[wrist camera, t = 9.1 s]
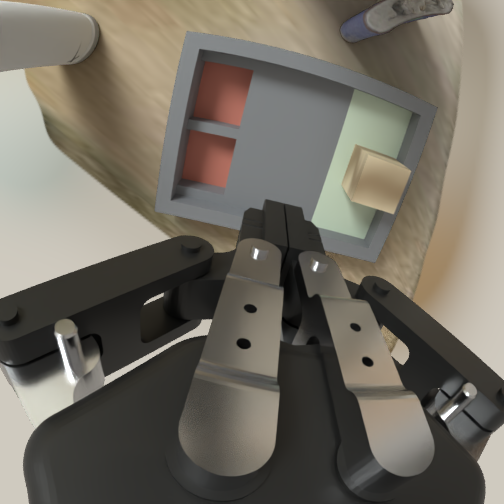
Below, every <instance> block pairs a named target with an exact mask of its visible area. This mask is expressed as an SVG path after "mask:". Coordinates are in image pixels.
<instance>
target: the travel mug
mask: <svg viewBox="0 0 504 504" xmlns="http://www.w3.org/2000/svg"><path fill="white" fill-rule="evenodd" d="M98 38H99V27H98V24H97V22H96V20H95V19H94V18H93V17H92V16H90V15H88V14H84V13H79V12H75V11H70V10H64V9H59V8H53V7H47V6H40V5H33V4H26V3H17V2H7V1H0V72H3V71H9V70H16V69H24V68H33V67H42V66H54V65H68V64H77V63H79V62H82V61H83V60H85V59H86V58H87V57H88V56H89V55H90V54H91V53H92V52H93V50H94V49H95V47H96V45H97V42H98Z"/></svg>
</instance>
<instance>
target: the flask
mask: <svg viewBox="0 0 504 504" xmlns="http://www.w3.org/2000/svg"><path fill="white" fill-rule="evenodd" d="M453 5H454V4H453V2H452V0H382V1H380V2H378V3H376V4H374V5H373V6H372V7H370V8H368V9H366V10H365V11H362V12H361V13H359V14H357V15H355V16H354V17H352V18H350V19H349V20H347V21H345V22H344V23H343V24H342V26H341V28H340V33H341V35H342V37H343V38H344V39H345V40H346V41H348V42H352V43H353V42H358V41H360V40H362V39H366V38H369V37H372V36H376V35H380V34H385V33H388V32H390V31H391V30H393V29H394V28H395V27H397V26H398V25H401V24H405V23H408V22H412V21H416V20H420V19H426V18H428V17H433V16H437V15H445V14H449V13H450V12H451V11H452V9H453Z"/></svg>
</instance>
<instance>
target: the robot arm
mask: <svg viewBox="0 0 504 504" xmlns="http://www.w3.org/2000/svg"><path fill="white" fill-rule="evenodd" d="M161 293H164V296H163V297H161V298H159V299H157V300H155V301H152V302H150V303H148V304H146V305H144V303H145V302H146V301H147V300H149V299H150V298H152V297H154V296H157V295H159V294H161ZM202 319H213V320H212V323H211V326H210V329H209V333H208V335H205V336H198V337H193V338H189V339H186V340H183V341H181V342H179V343H176V344H175V345H173V346H171V347H169V348H168V349H166V350H164V351H163V352H161V353H160V354H158V355H156V356H154V357H153V358H151V359H149V360H148V361H146V362H145V363H143V364H141V365H139V366H138V367H136V368H134V369H133V370H131V371H129V372H127V373H126V374H124V375H122V376H121V377H119V378H117V379H115V380H114V381H112V382H110V383H109V384H107V385H105V386H104V381H105V379H104V378H105V377H106V376H108V375H110V374H111V373H114V372H115V371H117V370H119V369H121V368H123V367H125V366H127V365H129V364H131V363H132V362H134V361H136V360H138V359H140V358H142V357H144V356H146V355H147V354H149V353H151V352H153V351H155V350H157V349H158V348H160V347H162V346H164V345H166V344H168V343H170V342H171V341H173V340H175V339H177V338H179V337H180V336H182V335H184V334H186V333H188V332H189V331H191V330H193V329H195V328H196V327H197V326H199V324H200V323H201V320H202ZM383 325H384V326H385V327H386V328H387V329H389V330H390V331H391V332H392V333H393V334H394V335H395V336H396V337H398V338H399V339H400V340H401V341H402V342H403V343H405V345H406V346H407V347H408V349H409V352H410V353H409V358H408V360H407V361H406V362H405V364H404V365H401V364H400V363H399V362H398V361H396V360H395V359H394V358H393V357H392V356H391V354H390V352H389V349H388V347H387V344H386V342H385V340H384V337H383V335H382V332H381V329H382V327H383ZM0 368H1V370H2V372H3V374H4V375H5V377H6V379H7V381H8V382H9V384H10V385H11V386H12V387H13V389H14V391H15V392H16V394H17V396H18V398H19V399H20V401H21V403H22V405H23V407H24V409H25V411H26V413H27V415H28V417H29V419H30V421H31V423H32V425H33V427H34V428H35V431H34V432H33V433H32V435H31V437H30V439H29V440H28V443H27V445H26V449H25V453H24V459H23V471H24V477H25V482H26V487H27V491H28V499H29V504H484V499H485V480H484V476H483V473H482V470H481V468H480V466H479V464H478V463H477V461H478V459H479V458H480V456H481V454H482V452H483V450H484V448H485V446H486V444H487V441H488V440H489V438H490V435H491V434H492V433H493V432H495V431H496V430H497V429H498V428H499V427H500V426H502V425H503V424H504V380H503V379H502V378H501V377H499V376H498V375H497V374H496V373H495V372H494V371H493V370H492V369H491V368H490V367H488V366H487V365H486V364H485V363H484V362H483V361H482V360H481V359H480V358H479V357H477V356H476V355H475V354H474V353H473V352H472V351H471V350H470V349H468V348H467V347H466V346H465V345H464V344H463V343H462V342H460V341H459V340H458V339H457V338H456V337H455V336H453V335H452V334H451V333H450V332H449V331H448V330H446V329H445V328H444V327H443V326H442V325H441V324H439V323H438V322H437V321H436V320H435V319H433V318H432V317H431V316H430V315H429V314H427V313H426V312H425V311H424V310H423V309H421V308H420V307H419V306H418V305H416V304H415V303H414V302H413V301H412V300H410V299H409V298H408V297H407V296H406V295H404V294H403V293H402V292H401V291H399V290H398V289H397V288H396V287H394V286H393V285H392V284H391V283H389V282H388V281H386V280H384V279H382V278H379V277H376V276H366V277H364V278H363V280H362V282H361V284H360V285H358V284H356V283H353V282H351V281H348V280H346V279H344V278H343V276H342V274H341V271H340V269H339V266H338V265H337V263H336V262H335V261H334V260H333V259H331V258H330V257H328V256H326V254H325V251H324V247H323V243H322V240H321V237H320V233H319V229H318V228H317V227H316V226H315V225H314V224H313V223H312V222H311V221H307V220H305V219H304V214H303V210H302V207H298V206H294V205H290V204H286V203H284V204H283V203H281V202H277V201H273V200H268V199H265V201H264V204H263V208H262V210H260V209H255V208H251V207H250V208H249V209H247V210H246V211H245V212H244V215H243V219H242V224H241V228H240V232H239V236H238V240H237V245H236V249H235V250H233V251H230V252H225V253H214V249H213V247H212V245H211V244H210V243H209V242H207V241H206V240H204V239H202V238H199V237H195V236H178V237H174V238H171V239H168V240H165V241H162V242H159V243H156V244H153V245H150V246H147V247H144V248H141V249H138V250H135V251H132V252H129V253H126V254H123V255H120V256H117V257H114V258H111V259H108V260H106V261H103V262H100V263H97V264H94V265H91V266H88V267H85V268H83V269H80V270H77V271H74V272H71V273H68V274H66V275H63V276H60V277H57V278H55V279H52V280H49V281H47V282H44V283H41V284H38V285H36V286H33V287H31V288H28V289H25V290H22V291H20V292H17V293H14V294H12V295H9V296H6V297H4V298H1V299H0ZM438 388H440V389H439V390H438Z"/></svg>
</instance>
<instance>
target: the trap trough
mask: <svg viewBox="0 0 504 504" xmlns="http://www.w3.org/2000/svg"><path fill="white" fill-rule="evenodd" d="M437 108H438V107H436V106H434V105H432V104H430V103H428V102H426V101H424V100H421V99H419V98H417V97H415V96H413V95H411V94H409V93H407V92H404V91H402V90H400V89H398V88H395V87H393V86H391V85H388V84H386V83H383V82H381V81H379V80H376V79H374V78H371V77H368V76H366V75H363V74H361V73H358V72H355V71H352V70H350V69H347V68H344V67H341V66H338V65H335V64H332V63H329V62H326V61H323V60H320V59H316V58H313V57H310V56H306V55H303V54H299V53H296V52H292V51H288V50H284V49H280V48H276V47H272V46H268V45H264V44H259V43H255V42H250V41H245V40H240V39H235V38H229V37H224V36H218V35H211V34H205V33H197V32H189V31H187V32H186V36H185V40H184V44H183V49H182V53H181V57H180V61H179V66H178V70H177V75H176V80H175V85H174V90H173V95H172V100H171V105H170V110H169V116H168V121H167V127H166V133H165V139H164V145H163V152H162V158H161V165H160V172H159V180H158V187H157V195H156V204H155V211H156V212H161V213H165V214H170V215H174V216H179V217H183V218H188V219H192V220H196V221H201V222H205V223H210V224H214V225H219V226H223V227H227V228H232V229H236V230H240V228H241V224H242V219H243V215H244V212H245V211H246V210H247V209H249V208H250V207H251V208H255V209H260V210H262V208H263V204H264V201H265V199H268V200H273V201H277V202H281V203H283V204H284V203H286V204H290V205H294V206H298V207H302V210H303V214H304V219H305V220H307V221H311V222H312V223H313V224H314V225H315V226H316V227H317V228H318V229H319V233H320V237H321V240H322V243H323V247H324V250H325V251H329V252H333V253H337V254H341V255H345V256H349V257H353V258H357V259H361V260H365V261H369V262H373V263H375V262H376V260H377V258H378V256H379V254H380V251H381V249H382V247H383V245H384V243H385V241H386V239H387V236H388V234H389V232H390V230H391V228H392V225H393V223H394V221H395V219H396V216H397V214H398V212H399V209H400V207H401V205H402V202H403V200H404V198H405V195H406V193H407V190H408V188H409V185H410V183H411V180H412V178H413V175H414V173H415V170H416V167H417V165H418V162H419V160H420V157H421V154H422V152H423V149H424V146H425V143H426V140H427V138H428V135H429V132H430V129H431V126H432V123H433V120H434V117H435V114H436V111H437ZM355 144H357V145H360V146H363V147H366V148H368V149H371V150H374V151H377V152H379V153H382V154H385V155H388V156H390V157H393V158H395V159H396V160H397V161H399V162H400V163H401V164H403V165H404V166H405V167H407V168H408V169H409V170H411V173H410V176H409V178H408V181H407V183H406V186H405V188H404V191H403V193H402V196H401V198H400V200H399V203H398V205H397V207H396V210H395V212H394V214H391V213H388V212H385V211H382V210H378V209H375V208H372V207H369V206H366V205H362V204H359V203H356V202H353V201H351V200H350V198H349V196H348V195H347V193H346V192H345V190H344V188H343V187H342V185H341V184H342V181H343V178H344V175H345V172H346V169H347V167H348V164H349V161H350V158H351V155H352V152H353V149H354V146H355Z"/></svg>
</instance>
